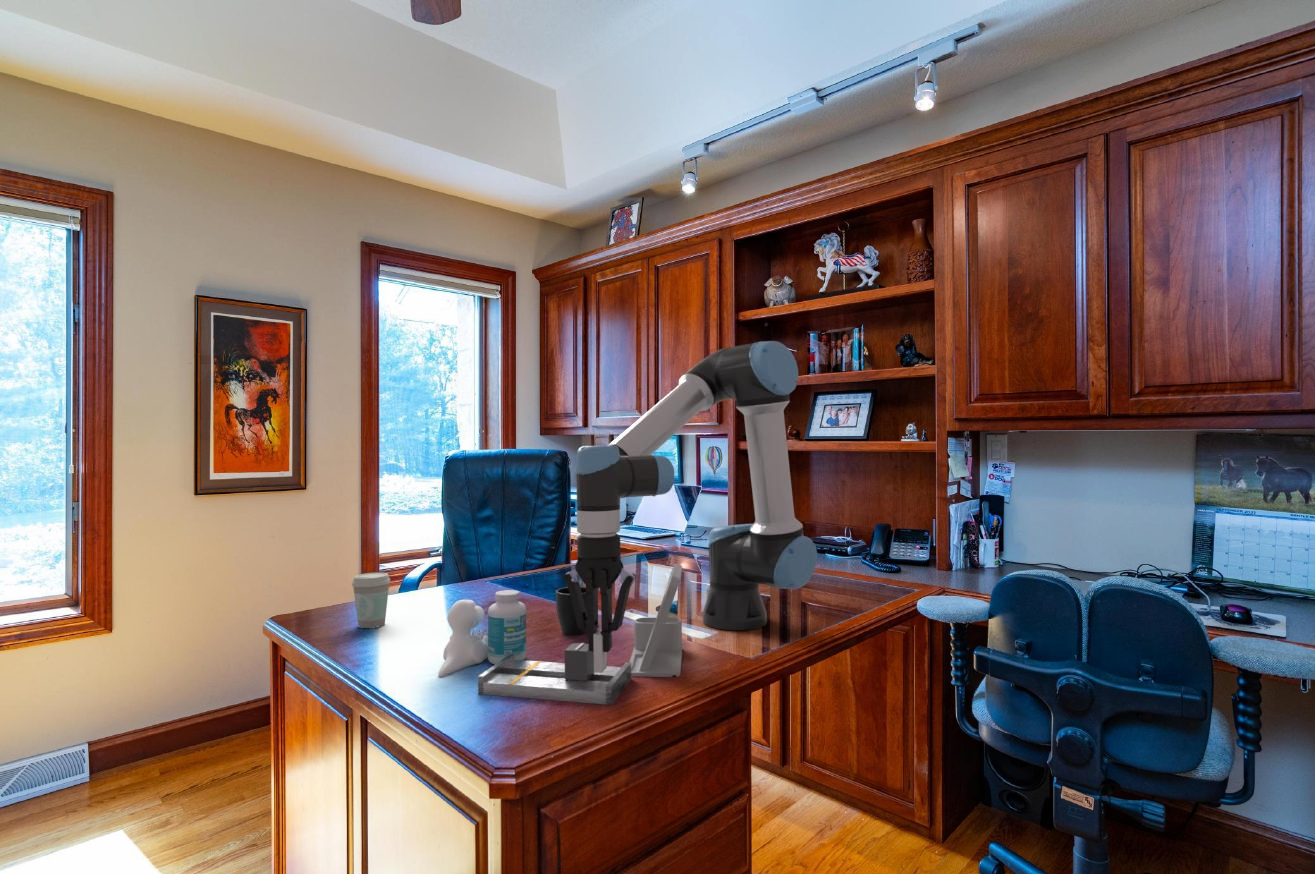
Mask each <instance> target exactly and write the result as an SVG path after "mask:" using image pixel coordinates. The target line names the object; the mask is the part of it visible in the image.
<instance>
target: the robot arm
mask: <svg viewBox="0 0 1315 874" xmlns="http://www.w3.org/2000/svg"><path fill="white" fill-rule="evenodd" d="M798 381H799V368H798V364H797V361H796V358H795V356H794V354H793V353H792V351H791V350H790V349H788V347H787V346H786V345H785V344H783V343H782V342H779V341H776V340H767V341H766V340H765V341H757V342H754V343H747V344H742V345H737V346H731V347H730V346H729V347H724V348H721V349H719V350H716V351H714V352H713V353H710V354H709V355H708V356H706V357H705V358H703V359H702V360H701V361H699V362H697V363H696V364H695V365H694V366H693V367H691V368H690V369H689V370H687V371H686V372H685V373H684V374H682V376H681V377H680V378H679V380H678V384H677V385H676V387H675V388H674V389H672V390H671V391H670V392H669V393H667V395H665V396H664V397H663V398H661V400H659V401H658V402H657V403H656V404H655V405H654V406H652V407H651V408H650V409H649V410H648V411H646V412H645V413H644V414H643V415H642V416H640V417H639V418H638V419H637V420H636V421H634V423H633V424H631V425H630V426H629V427H628V428H627V429H625V430H624V431H623V432H621V434H619V436H617V437H615V439H614V440H612V441H611V442H609V444H607V445H583V446H581V447H579V448H578V450H577V452H576V461H575V464H576V465H575V467H574V471H573V472H574V473H573V474H574V479H575V483H576V532H577V533H578V534H580V535H578V536H577V538H576V543H577V544H576V546H577V547H576V555H577V561H576V563H575V565H574V569H572V570H571V571H568V572H566V573H565V574H563V575H562V580H563V581H564V583H565V584H566V587H568V588H569V593H570V597H571V601H572V605H573V609H574V614H575V618H576V622H577V626H578V628H579V629H584V630H586V631H587V632H586V633H587V636H588V637H587V639H588V640H587V642H588V643H587V644H588V648H589V651H594V672H598V673H602V672H603V671H604V670H605V669H606V668H607V666H608V665H607V663H608V661H607V659H608V657H607V656H608V655H607V653H609V652H610V651H612V650H611V649H612V647H613V646H612V645H613V644H612V643H613V637H612V633H613V632H616V631H618V630H619V629H620V628H621V627H622V626H623V623H624V618H625V613H626V608H627V605H628V599H629V595H630V591H631V586H632V585H633V584H634V582H635V580H636V579H637V575H636V574H635V573H630V572H629V571H627V570H626V569H625V568H624V564H623V562H622V559H621V557H622V556H621V536H620V534H618V533H619V532H620V531H621V499H624V498H637V497H649V496H650V497H656V496H661V495H665V494H667V493H669V492H670V491H671V490H672V488H673V486H674V483H675V480H676V479H675V468H674V465H673V463H672V462H671V460H670V459H669V458H667V457H666V456H664V455H655V452H656V451H658V450H659V449H660V448H661V447H663V445H664V444H665V443H666V442H667V441H668V440H670V439H671V438H672V437H673V436H674V435H675V434H676V433H677V432H679V431H680V430H681V429H682V428H683V427H685V425H686V424H687V423H688V422H690V420H692V419H693V418H694V417H695V416H696V415H697V414H699V412H702V411H704V412H705V411H708V410H710V409H712V407H713V406H715V404H718V403H720V402H723V401H726V400H730V399H731V400H732V399H733V400H734V401H735V408H736V409H737V410H738V411H739V412H740V413H741V414H742V415H743V418H744V426H745V427H744V428H745V436H746V437H745V438H746V445H747V455H748V463H749V471H750V481H751V490H752V491H751V492H752V501H753V509H754V518H755V520H754V523H743V524H742V523H741V524H731V525H724V526H723V525H721V526H717V527H713V528H712V529H711V530H710V532H709V536H708V537H709V539H708V541H709V542H708V544H707V545H708V562H709V563H708V566H709V571H708V572H709V591H708V594H707V597H706V601H705V604H704V607H703V611H702V623H703V624H704V625H706V626H708V627H710V628H714V629H719V630H724V631H725V630H727V631H748V630H749V631H750V630H756V629H759V628H762V627H764V626H766V625H767V623H768V616H767V610H766V607H765V604H764V602H763V598H762V595H761V592H760V585H759V584H761V585H765V586H769V587H770V586H771V587H774V588H777V589H783V590H785V589H788V590H798V589H801V588H803V586H805V585H806V584H807V583H808V582H809V581H810V579H811V578H812V576H813V574H814V573H815V569H816V566H817V561H818V559H817V558H818V551H817V547H816V546H817V545H816V543H814V542H813V540H812V539H811V538H810V537H808V536H806V535H805V536H804V525H803V523H801V521H799V520H798V519H797V518H796V516H795V511H794V509H795V508H794V501H793V499H794V498H793V490H792V480H791V479H792V478H791V472H790V459H789V452H788V451H789V449H788V445H787V444H788V442H787V433H786V424H785V421H786V420H785V414H784V413H785V412H784V410H785V408H786V407H787V406H788V404H789V403H790V402H791V401H790V394H791V393H792V392H793V391H794V390H795V389H796V387H797V383H798ZM619 577H620V579H619V583H620V584H621V585H620V588H619V591H618V597H617V601H616V604H615V611H614V614H613V590H614V589H613V588H614V587H613V586H614V584H615V582H616V581H617V580H618V578H619ZM580 579H581V581H582V582H583V583H584V585H585V587H586V594H587V613H586V609H585V605H584V601H583V596H582V592H581V588H580V586H581V584H580V582H579V581H580ZM599 592H600V593H599ZM599 594H600V596H601V597H600V607H601V608H600V609H601V610H600V611H601V613H600V616H601V620H600V621H601V629H599V628H600V624H599Z"/></svg>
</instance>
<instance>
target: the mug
mask: <svg viewBox="0 0 1315 874" xmlns="http://www.w3.org/2000/svg"><path fill="white" fill-rule="evenodd" d="M580 588H581V592H582V596H583V601H584V605H585V609H586V613H587V594H586V586H582V585H580ZM555 607H556V614H557V618H558V623H559V625H560V628H561V632H562V634H563V635H565V636H579V635H580V636H581V635H583V634H586V633H588V632H587V631H586V630H584V629H579V628H578V626H577V622H576V618H575V614H574V609H573V605H572V601H571V597H570V593H569V588H568V586H566V587H560V588H558V589H557V590H555Z"/></svg>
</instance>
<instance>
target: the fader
mask: <svg viewBox="0 0 1315 874" xmlns="http://www.w3.org/2000/svg"><path fill="white" fill-rule="evenodd" d="M564 663H565V679H569V680H582V681H587V680H590V677H591V676H592V675H593V674H594V651H589V648H588V643H584V642H581V643H578V642H577V643H571V644H570V645H568V647H567V648H566V649H564Z"/></svg>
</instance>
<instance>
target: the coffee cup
mask: <svg viewBox="0 0 1315 874" xmlns="http://www.w3.org/2000/svg"><path fill="white" fill-rule="evenodd" d="M390 583H391V578H390V576H389V573H387V572H380V571H379V572H367V573H361V574H357V575H355V576H354V577H353V580H352V582H351V586H352V587H353V594H354V595H353V596H354V602H355V603H354V604H355V610H356V617H357V626H360V627H363V628H370V629H374V628H373V627H377V626H381V627H383V626H384V625H386V617H387V607H388V600H389V599H388V598H389V589H390ZM383 624H384V625H383ZM382 625H383V626H382ZM377 628H378V627H377Z"/></svg>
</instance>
